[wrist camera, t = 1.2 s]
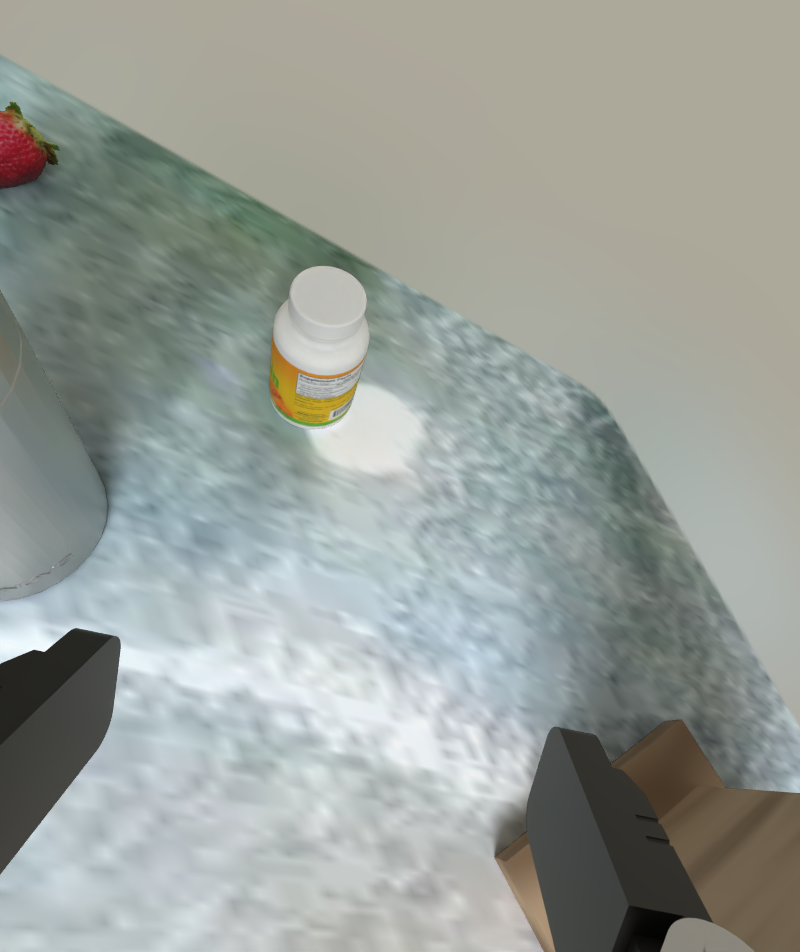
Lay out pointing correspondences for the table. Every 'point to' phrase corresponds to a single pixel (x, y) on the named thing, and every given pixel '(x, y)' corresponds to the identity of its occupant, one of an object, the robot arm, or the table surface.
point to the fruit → (21, 149)
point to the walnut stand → (703, 843)
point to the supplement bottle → (318, 347)
